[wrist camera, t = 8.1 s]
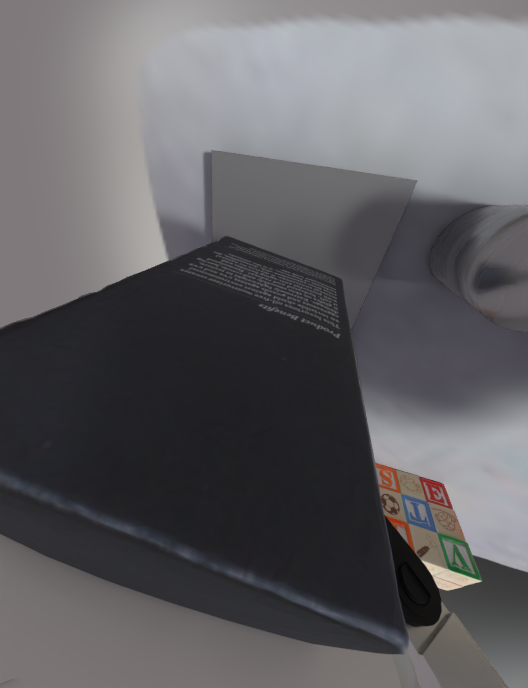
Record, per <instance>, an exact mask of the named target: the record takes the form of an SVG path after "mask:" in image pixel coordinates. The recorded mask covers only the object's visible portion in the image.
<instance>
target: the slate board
mask: <svg viewBox="0 0 528 688" xmlns="http://www.w3.org/2000/svg"><path fill="white" fill-rule="evenodd" d="M416 183H417V180H410V179H403V178H396V177H390V176H383V175H376V174H369V173H363V172H356V171H349V170H342V169H336V168H329V167H322V166H315V165H309V164H302V163H295V162H288V161H282V160H275V159H268V158H261V157H254V156H248V155H241V154H234V153H227V152H221V151H214V150H212V242H214V241H217V240H218V239H220V238H222V237H224V236H229V237H232V238H235V239H237V240H240V241H243V242H245V243H248V244H251V245H254V246H256V247H258V248H261V249H264V250H267V251H270V252H272V253H275V254H278V255H281V256H284V257H286V258H289V259H291V260H294V261H297V262H299V263H302V264H305V265H307V266H311V267H313V268H316V269H318V270H321V271H323V272H326V273H328V274H331V275H334V276H336V277H339V278H341V279H342V281H343V287H344V292H345V299H346V304H347V311H348V318H349V323H350V328H351V330H352V328H353V325H354V323H355V321H356V319H357V316H358V314H359V312H360V309H361V307H362V305H363V303H364V300H365V298H366V296H367V294H368V291H369V289H370V287H371V285H372V282H373V280H374V278H375V276H376V273H377V271H378V269H379V266H380V264H381V262H382V260H383V257H384V255H385V253H386V251H387V248H388V246H389V244H390V242H391V239H392V237H393V235H394V232H395V230H396V228H397V226H398V223H399V221H400V219H401V217H402V214H403V212H404V210H405V208H406V205H407V203H408V201H409V199H410V196H411V194H412V192H413V189H414V187H415V185H416Z"/></svg>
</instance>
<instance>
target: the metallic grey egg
mask: <svg viewBox="0 0 528 688" xmlns="http://www.w3.org/2000/svg"><path fill="white" fill-rule="evenodd" d="M429 262H430V268H431V271H432V273H433V275H434V276H435V277H436V278H437V279H438V280H439V281H440V282H441V283H443V284H444V285H445V286H447V287H448V288H449V289H450V290H452V291H453V292H454V293H455V294H457V295H458V296H459V297H461V298H462V299H463V300H464V301H466V302H467V303H468V304H470V305H471V306H472V307H473V308H475V309H476V310H477V311H479V312H480V313H481V314H482V315H484V316H485V317H486V318H488V319H489V320H490V321H492V322H493V323H494V324H496V325H498V326H500V327H503V328H506V329H509V330H514V331H520V332H528V205H515V206H487V207H482V208H478V209H475V210H473V211H470V212H468V213H466V214H464V215H462V216H461V217H459V218H457V219H456V220H455V221H453V222H452V223H451V224H450V225H448V226H447V227H446V228H445V229H444V230H443V231H442V233H441V234H440V235H439V236H438V238H437V239H436V241H435V243H434V245H433V247H432V250H431V253H430V260H429Z"/></svg>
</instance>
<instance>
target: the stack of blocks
mask: <svg viewBox="0 0 528 688" xmlns="http://www.w3.org/2000/svg"><path fill="white" fill-rule="evenodd" d="M375 465H376V471H377V477H378V483H379V490H380V496H381V501H382V506H383V511H384V515H385V516H386V517H387V518H388V520H389V521H390V522H391V523H392V525H393V526H394V527H395V528H396V530H397V531H398V532H399V533H400V535H401V536H402V537H403V538H404V540H405V541H406V542H407V543H408V545H409V546H410V547H411V548H412V550H413V551H414V552H415V553H416V554H417V556H418V557H419V558H420V559H421V561H422V562H423V563H424V564H425V566H426V567H427V569H428V570H429V572H430V573H431V575H432V576H433V578H434V581H435V583H436V585H437V587H438V588H441V589H444V590H452V589H456V588H461V587H463V586H465V585H469V584H473V583H477V582H481V581H482V579H481V576H480V574H479V571H478V569H477V566H476V563H475V561H474V558H473V556H472V553H471V551H470V548H469V545H468V544H467V542H466V541H465V538H464V535H463V532H462V530H461V527H460V524H459V522H458V519H457V517H456V514H455V511H454V510H453V508H452V505H451V502H450V499H449V497H448V494H447V491H446V489H445V486H444V484H441V483H438V482H435V481H431V480H428V479H424V478H421V477H418V476H416V475H413V474H409V473H406V472H403V471H399V470H395V469H392V468H389V467H386V466H383V465H379V464H376V463H375Z"/></svg>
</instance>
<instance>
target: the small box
mask: <svg viewBox="0 0 528 688" xmlns="http://www.w3.org/2000/svg"><path fill="white" fill-rule="evenodd" d="M0 534H1V535H3V536H6V537H8V538H10V539H12V540H14V541H16V542H18V543H20V544H22V545H24V546H26V547H28V548H30V549H32V550H34V551H37V552H39V553H41V554H43V555H45V556H47V557H49V558H52V559H54V560H57V561H59V562H62V563H64V564H67V565H69V566H72V567H74V568H76V569H79V570H81V571H84V572H86V573H89V574H91V575H94V576H96V577H99V578H101V579H104V580H106V581H109V582H112V583H115V584H118V585H120V586H123V587H126V588H129V589H132V590H135V591H138V592H140V593H143V594H146V595H149V596H152V597H155V598H158V599H161V600H164V601H167V602H170V603H173V604H176V605H180V606H183V607H186V608H189V609H192V610H195V611H199V612H202V613H205V614H208V615H211V616H214V617H217V618H221V619H224V620H227V621H231V622H234V623H238V624H241V625H245V626H248V627H252V628H256V629H259V630H263V631H266V632H270V633H273V634H277V635H281V636H284V637H288V638H292V639H296V640H299V641H303V642H307V643H311V644H317V645H323V646H330V647H336V648H343V649H350V650H357V651H364V652H371V653H379V654H402V655H404V654H405V653H406V652H407V651H408V650H409V635H408V631H407V627H406V623H405V619H404V615H403V611H402V607H401V603H400V598H399V593H398V587H397V580H396V574H395V568H394V562H393V556H392V551H391V546H390V541H389V536H388V531H387V526H386V521H385V516H384V511H383V506H382V501H381V496H380V490H379V483H378V477H377V471H376V465H375V459H374V454H373V449H372V444H371V439H370V434H369V428H368V423H367V417H366V412H365V407H364V401H363V396H362V390H361V385H360V379H359V374H358V368H357V362H356V356H355V351H354V345H353V340H352V334H351V328H350V323H349V318H348V311H347V304H346V299H345V292H344V287H343V281H342V279H341V278H339V277H336V276H334V275H331V274H328V273H326V272H323V271H321V270H318V269H316V268H313V267H311V266H307V265H305V264H302V263H299V262H297V261H294V260H291V259H289V258H286V257H284V256H281V255H278V254H275V253H272V252H270V251H267V250H264V249H261V248H258V247H256V246H254V245H251V244H248V243H245V242H243V241H240V240H237V239H235V238H232V237H229V236H224V237H222V238H220V239H218V240H217V241H214V242H212V243H210V244H207V245H206V246H203V247H201V248H198V249H195V250H193V251H191V252H189V253H188V254H185V255H181V256H179V257H176V258H174V259H172V260H170V261H167V262H164V263H162V264H159V265H157V266H155V267H152V268H150V269H148V270H145V271H142V272H140V273H137V274H134V275H132V276H129V277H126V278H125V279H123V280H121V281H119V282H116V283H114V284H111V285H108V286H106V287H105V288H103V289H102V290H100V291H98V292H94V293H89V294H86V295H83V296H81V297H79V298H78V299H76V300H73V301H71V302H69V303H66V304H63V305H61V306H58V307H56V308H53V309H50V310H48V311H45V312H43V313H41V314H38V315H36V316H34V317H30V318H26V319H22V320H19V321H16V322H14V323H11V324H9V325H6V326H4V327H1V328H0Z"/></svg>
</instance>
